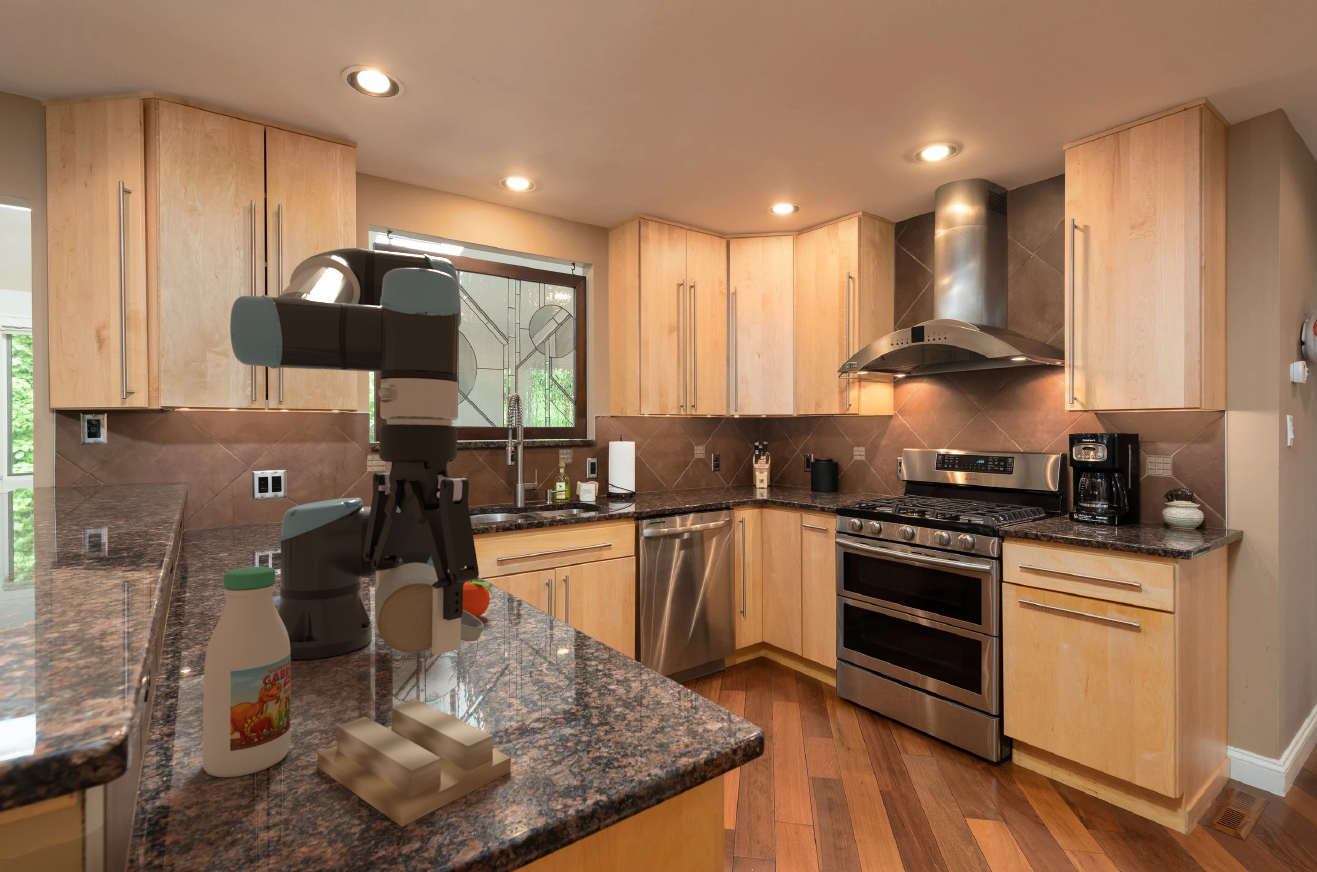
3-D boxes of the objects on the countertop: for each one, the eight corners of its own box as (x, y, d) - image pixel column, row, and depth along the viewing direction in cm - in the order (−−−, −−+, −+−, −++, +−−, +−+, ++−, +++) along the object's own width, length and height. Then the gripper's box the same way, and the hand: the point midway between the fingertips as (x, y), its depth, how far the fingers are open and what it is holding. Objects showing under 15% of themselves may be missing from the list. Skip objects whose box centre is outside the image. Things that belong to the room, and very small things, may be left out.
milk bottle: (193, 786, 63) (196, 580, 63) (212, 750, 70) (214, 565, 70) (284, 770, 66) (287, 574, 66) (293, 737, 73) (296, 560, 73)
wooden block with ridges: (317, 766, 67) (318, 728, 67) (422, 726, 76) (423, 692, 76) (401, 826, 57) (402, 781, 57) (510, 771, 66) (511, 732, 66)
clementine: (501, 615, 123) (502, 577, 123) (483, 625, 117) (484, 586, 117) (463, 612, 125) (464, 575, 125) (443, 621, 118) (444, 583, 118)
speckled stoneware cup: (374, 661, 61) (377, 579, 61) (373, 636, 68) (376, 563, 68) (489, 649, 65) (491, 573, 65) (476, 627, 73) (479, 558, 73)
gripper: (330, 422, 70) (327, 626, 70) (452, 422, 57) (448, 676, 57) (394, 424, 76) (391, 612, 76) (519, 424, 62) (516, 654, 62)
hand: (416, 639), depth 66 cm, fingers closed on speckled stoneware cup, 10 cm apart
